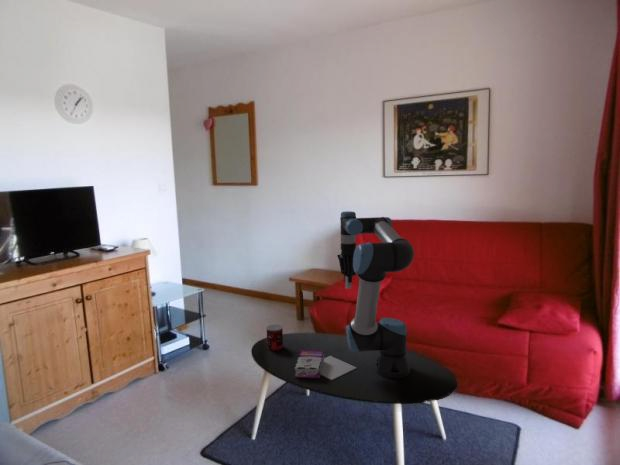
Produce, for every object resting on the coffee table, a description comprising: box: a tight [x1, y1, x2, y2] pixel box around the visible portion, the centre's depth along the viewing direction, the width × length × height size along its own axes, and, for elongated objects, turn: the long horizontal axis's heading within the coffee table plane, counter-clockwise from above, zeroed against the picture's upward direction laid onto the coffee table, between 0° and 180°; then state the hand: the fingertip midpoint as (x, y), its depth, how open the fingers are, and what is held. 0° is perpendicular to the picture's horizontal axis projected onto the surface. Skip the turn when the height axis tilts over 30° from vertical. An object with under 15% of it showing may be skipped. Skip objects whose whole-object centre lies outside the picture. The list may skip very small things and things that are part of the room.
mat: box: [320, 355, 357, 381], centre depth 199 cm, size 17×16×1 cm
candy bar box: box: [294, 349, 325, 379], centre depth 197 cm, size 11×5×16 cm
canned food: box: [266, 324, 284, 352], centre depth 221 cm, size 8×8×11 cm
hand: (348, 288), depth 221 cm, fingers closed
